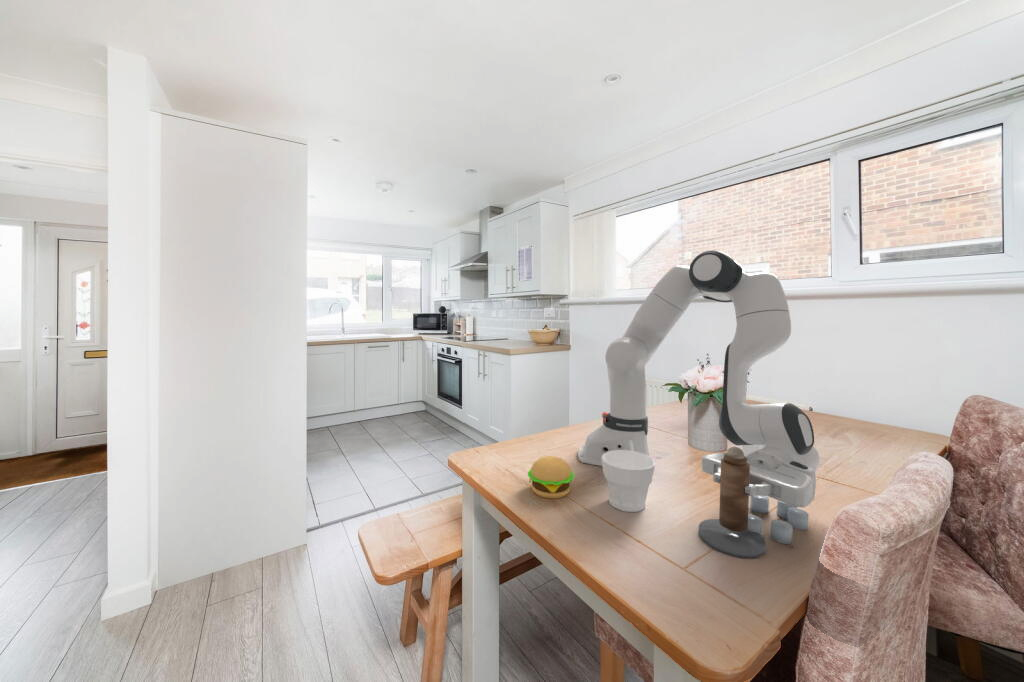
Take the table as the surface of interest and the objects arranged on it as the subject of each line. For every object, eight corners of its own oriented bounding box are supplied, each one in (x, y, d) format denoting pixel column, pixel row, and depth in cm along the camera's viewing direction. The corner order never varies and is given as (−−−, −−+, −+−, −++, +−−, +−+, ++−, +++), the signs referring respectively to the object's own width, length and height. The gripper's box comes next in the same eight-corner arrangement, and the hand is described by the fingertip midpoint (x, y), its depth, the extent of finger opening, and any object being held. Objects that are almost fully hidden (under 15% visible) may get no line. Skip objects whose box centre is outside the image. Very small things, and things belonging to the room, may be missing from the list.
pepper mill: (723, 529, 75) (725, 450, 74) (716, 516, 79) (718, 442, 78) (751, 533, 73) (754, 452, 72) (742, 519, 78) (745, 444, 77)
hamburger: (583, 490, 98) (583, 458, 98) (554, 507, 90) (554, 472, 89) (548, 476, 107) (548, 446, 106) (518, 490, 98) (518, 458, 98)
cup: (650, 494, 96) (651, 451, 95) (658, 520, 84) (659, 471, 83) (600, 489, 99) (601, 448, 98) (600, 513, 87) (601, 466, 86)
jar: (752, 468, 112) (754, 428, 111) (731, 458, 120) (732, 421, 119) (777, 465, 114) (779, 426, 113) (754, 455, 122) (755, 419, 121)
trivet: (705, 552, 73) (705, 547, 72) (693, 519, 84) (693, 515, 84) (777, 563, 69) (777, 558, 69) (753, 527, 81) (753, 523, 81)
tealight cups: (741, 537, 77) (741, 523, 77) (720, 501, 92) (720, 489, 92) (828, 549, 73) (828, 534, 73) (791, 509, 88) (792, 497, 88)
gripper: (721, 442, 91) (685, 453, 84) (824, 472, 73) (789, 489, 66) (721, 467, 91) (685, 480, 85) (823, 504, 74) (788, 524, 67)
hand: (732, 485), depth 75 cm, fingers closed on pepper mill, 5 cm apart
